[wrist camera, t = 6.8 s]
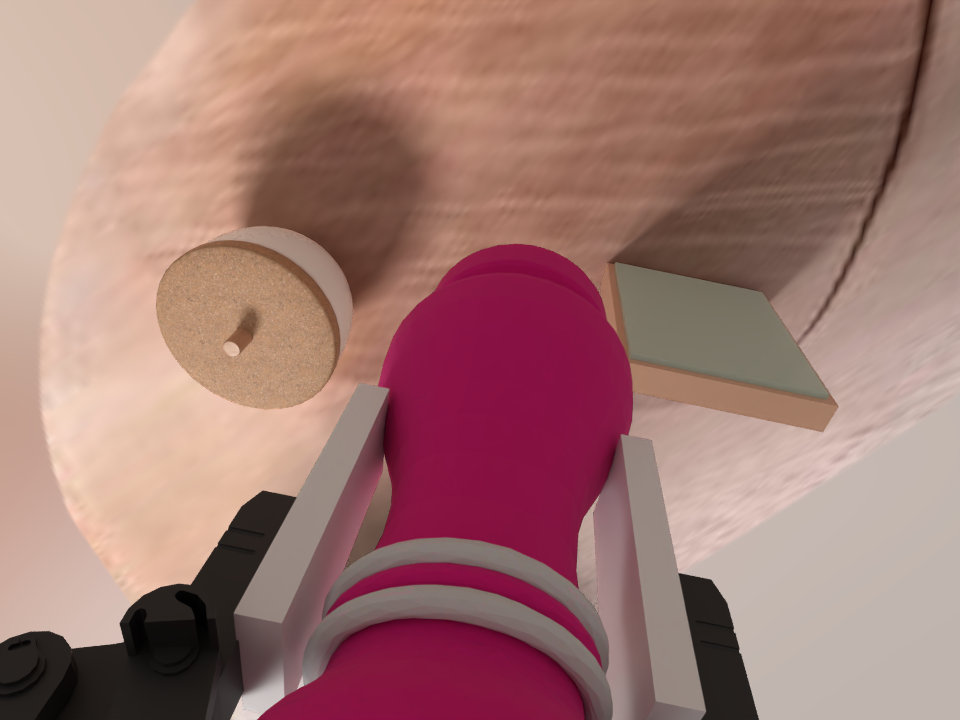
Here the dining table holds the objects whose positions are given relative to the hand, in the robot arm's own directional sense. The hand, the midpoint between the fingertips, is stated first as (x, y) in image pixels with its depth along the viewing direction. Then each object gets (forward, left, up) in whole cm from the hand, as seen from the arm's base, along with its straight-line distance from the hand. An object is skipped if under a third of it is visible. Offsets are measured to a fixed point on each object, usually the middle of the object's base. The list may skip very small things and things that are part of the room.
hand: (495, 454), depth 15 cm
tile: (-4, -10, -24) cm, 27 cm away
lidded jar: (-9, +15, -24) cm, 30 cm away
